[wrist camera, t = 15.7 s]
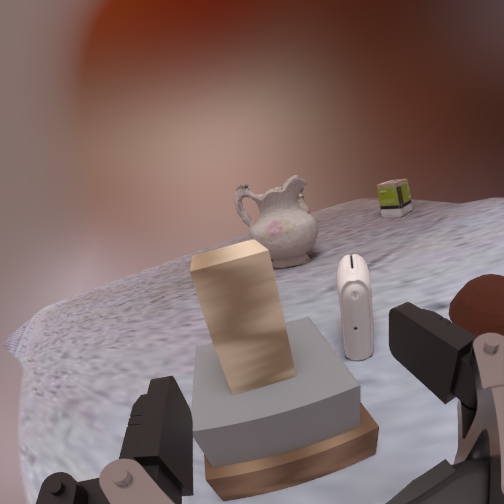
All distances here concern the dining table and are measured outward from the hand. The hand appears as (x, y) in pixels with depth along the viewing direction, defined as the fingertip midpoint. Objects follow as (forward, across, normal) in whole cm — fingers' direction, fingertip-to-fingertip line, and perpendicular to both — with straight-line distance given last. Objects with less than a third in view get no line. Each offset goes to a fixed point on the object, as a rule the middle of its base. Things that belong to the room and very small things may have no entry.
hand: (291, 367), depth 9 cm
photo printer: (+23, -14, +18) cm, 32 cm away
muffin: (+8, -25, +18) cm, 32 cm away
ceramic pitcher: (+70, -16, +18) cm, 74 cm away
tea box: (+93, -76, +18) cm, 121 cm away
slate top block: (+12, +1, +13) cm, 17 cm away
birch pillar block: (+11, +1, +8) cm, 14 cm away
